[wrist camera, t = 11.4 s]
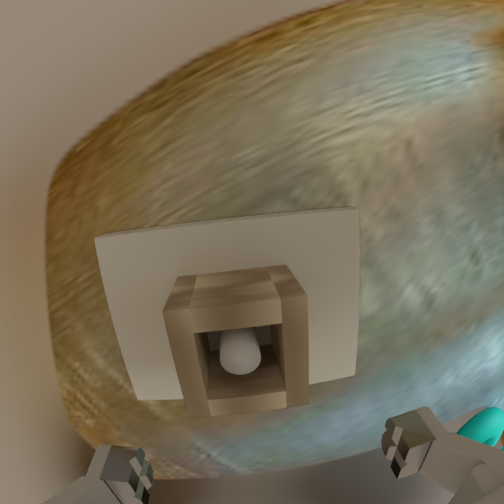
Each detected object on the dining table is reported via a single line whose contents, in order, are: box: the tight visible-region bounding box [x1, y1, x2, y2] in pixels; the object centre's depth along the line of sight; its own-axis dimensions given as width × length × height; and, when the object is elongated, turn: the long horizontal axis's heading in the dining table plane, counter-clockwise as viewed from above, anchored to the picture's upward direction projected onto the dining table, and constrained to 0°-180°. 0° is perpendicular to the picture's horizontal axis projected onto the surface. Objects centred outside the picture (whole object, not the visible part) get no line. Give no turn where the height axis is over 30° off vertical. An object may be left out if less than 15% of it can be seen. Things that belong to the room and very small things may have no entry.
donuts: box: [456, 407, 504, 451], centre depth 23 cm, size 10×10×10 cm
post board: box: [94, 207, 360, 400], centre depth 18 cm, size 16×12×6 cm
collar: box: [162, 265, 309, 418], centre depth 17 cm, size 6×6×5 cm
